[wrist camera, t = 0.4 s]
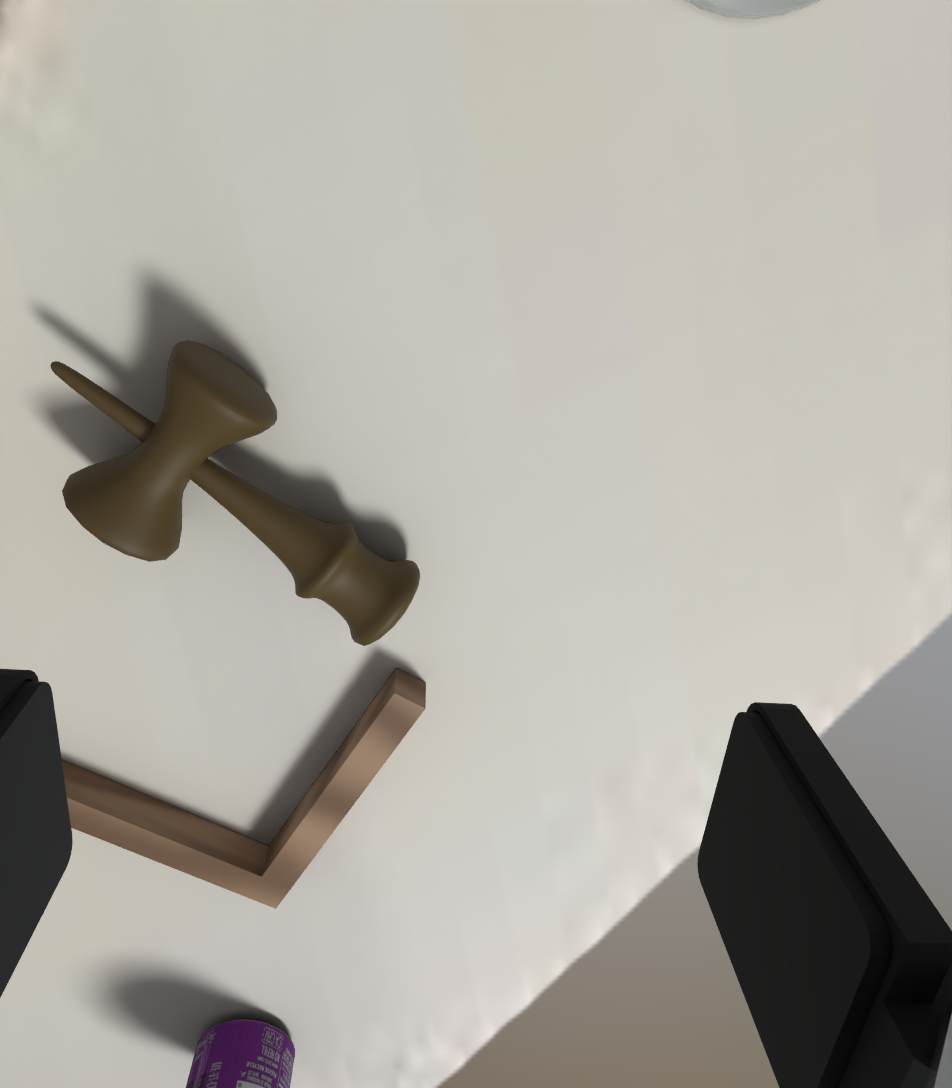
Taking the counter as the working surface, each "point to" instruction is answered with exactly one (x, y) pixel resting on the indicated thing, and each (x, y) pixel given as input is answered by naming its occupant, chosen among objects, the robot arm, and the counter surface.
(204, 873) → the walnut bay
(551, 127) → the counter surface
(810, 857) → the robot arm
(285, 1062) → the beverage can
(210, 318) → the counter surface
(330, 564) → the kendama
